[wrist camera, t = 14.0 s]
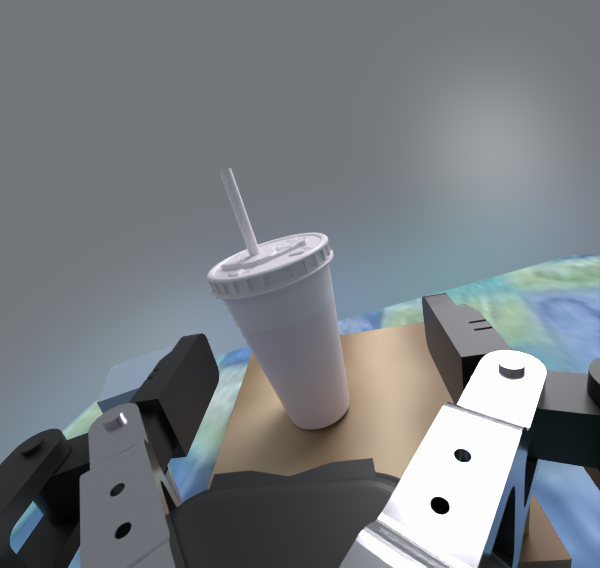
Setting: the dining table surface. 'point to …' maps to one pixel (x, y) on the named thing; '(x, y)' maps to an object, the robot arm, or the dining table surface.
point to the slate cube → (128, 379)
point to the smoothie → (287, 316)
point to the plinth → (363, 424)
